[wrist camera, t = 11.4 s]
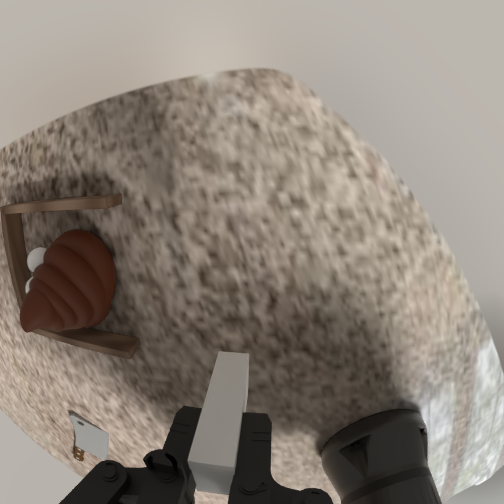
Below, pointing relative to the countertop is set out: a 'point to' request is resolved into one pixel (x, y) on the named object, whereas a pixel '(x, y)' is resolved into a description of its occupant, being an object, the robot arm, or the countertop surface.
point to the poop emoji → (69, 284)
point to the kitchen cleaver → (89, 438)
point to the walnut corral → (21, 274)
